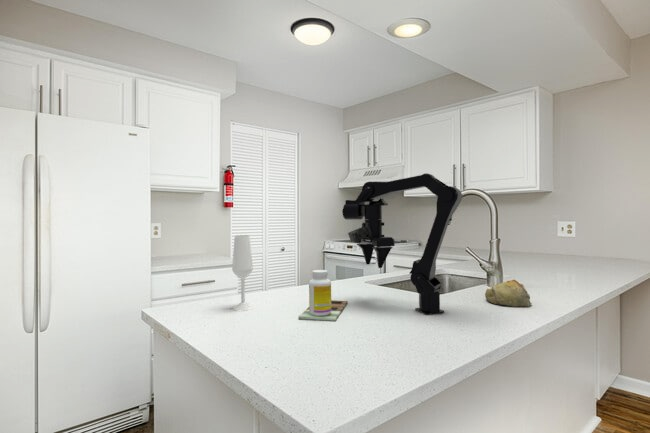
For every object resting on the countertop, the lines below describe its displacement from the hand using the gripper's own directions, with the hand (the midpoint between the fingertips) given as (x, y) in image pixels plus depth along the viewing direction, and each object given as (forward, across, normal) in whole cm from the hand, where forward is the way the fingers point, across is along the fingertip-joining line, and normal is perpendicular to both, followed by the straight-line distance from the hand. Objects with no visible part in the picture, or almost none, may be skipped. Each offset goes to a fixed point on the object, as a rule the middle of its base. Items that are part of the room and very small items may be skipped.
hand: (373, 266), depth 124 cm
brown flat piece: (+13, +1, -18) cm, 22 cm away
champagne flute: (+13, -12, -42) cm, 46 cm away
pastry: (+13, +14, +43) cm, 47 cm away
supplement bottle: (+12, +7, -21) cm, 25 cm away
